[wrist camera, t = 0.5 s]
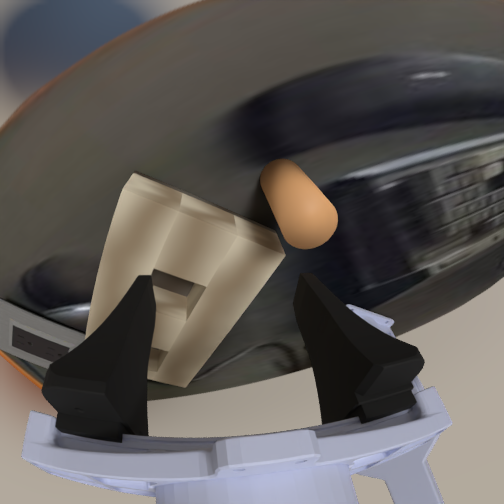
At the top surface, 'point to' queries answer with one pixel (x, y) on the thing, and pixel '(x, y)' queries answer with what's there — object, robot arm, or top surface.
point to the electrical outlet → (35, 335)
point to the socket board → (182, 271)
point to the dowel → (298, 205)
